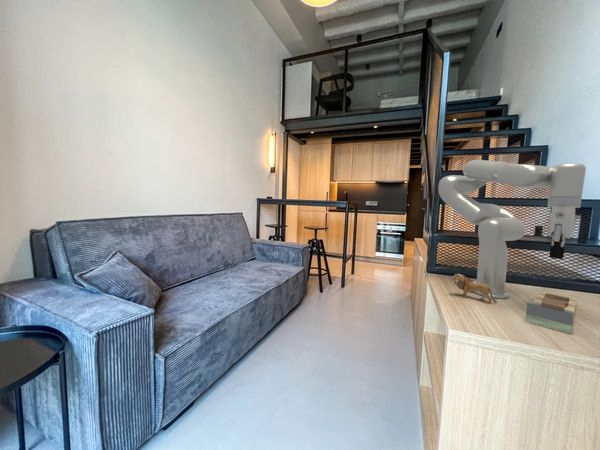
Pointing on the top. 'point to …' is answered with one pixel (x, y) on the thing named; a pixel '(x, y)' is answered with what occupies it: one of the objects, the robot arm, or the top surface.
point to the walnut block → (553, 304)
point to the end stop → (550, 313)
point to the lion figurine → (472, 287)
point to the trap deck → (569, 306)
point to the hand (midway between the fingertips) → (556, 258)
